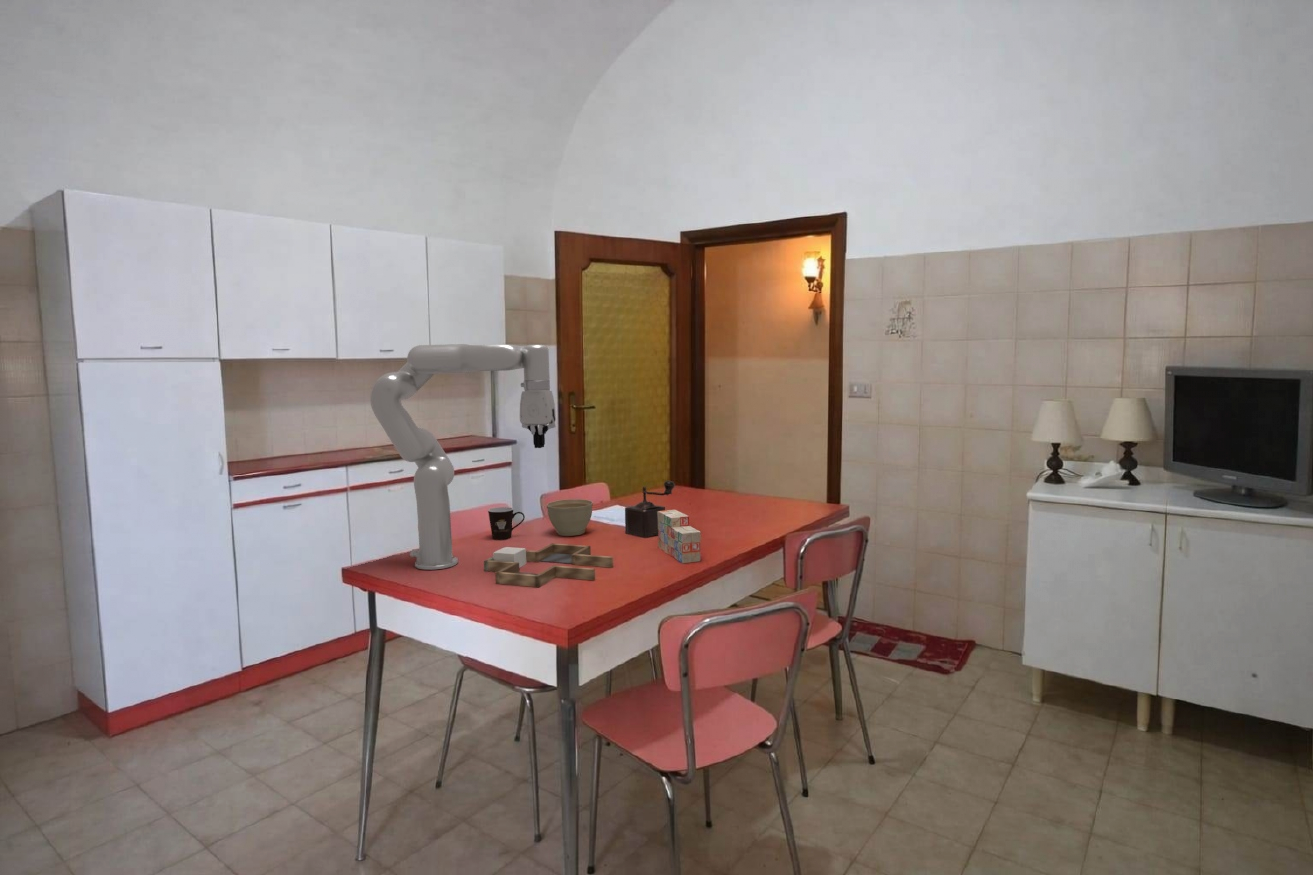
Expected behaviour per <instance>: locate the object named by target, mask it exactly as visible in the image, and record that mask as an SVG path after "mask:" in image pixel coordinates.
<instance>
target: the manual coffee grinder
mask: <svg viewBox="0 0 1313 875" xmlns="http://www.w3.org/2000/svg"><path fill="white" fill-rule="evenodd" d="M663 486H664V489H665V490H664V492H657V491H655V492H654V491H647V487H646V486H643V487H642V493H643V494H642V496H643V498H642V499H643V500H642V501H641V502H638V503H637V504H635V505H631V506H626V507H624V523H625V524H624V525H625V527H624V528H625V530H624V533H625V534H627V535H629V536H634V537H639V538H644V539H646V538H651V537H655V536H658V515H657V511H665V510H666V507H665V506H662V505H656V504H655V503H653V502H651V501H647V495H652V496H653V495H654V496H655V495H656V496H669V495H672V494H673V492H672V491H673V489H675V486H676V484H675V483H674V481H671V480H665V481H664V482H663Z"/></svg>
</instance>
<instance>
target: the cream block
mask: <svg viewBox="0 0 1313 875" xmlns="http://www.w3.org/2000/svg"><path fill="white" fill-rule="evenodd" d="M526 550H527V548H524V547H510V546H505V547H502V548H500V549H498V550H496V551H494V552H493V554H492V557H493V558H494V561H505V562H517V563H519V569H520V568H521V567H525V565H527V561H526Z"/></svg>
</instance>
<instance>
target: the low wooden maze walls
mask: <svg viewBox="0 0 1313 875" xmlns="http://www.w3.org/2000/svg"><path fill="white" fill-rule="evenodd" d="M526 562H534V563H535V562H537V563H540V562H541V563H552V564H565V565H551V566H549V567H548V568H546V569H544V570H543V571H541V572H539V573H534V572H532V573H531V572H521V571H520V568H519V563H517V562H505V561H494V558H493V556H492V557H489V558H487V559H485V560H484V561H483V569H484V570H483V571H484V572H490V573H491V572H492V573H494V574H495V575H494V576H495V584H498V585H508V586H521V587H531V588H532V587H533V588H540V587H542V586H543V585H545V584H547V583H548V582H550V581H551V580H554V579H555V578H559V579H560V578H561V579H574V580H575V579H576V580H585V581H586V580H587V581H595V580H596V568H589V567H600V568H611V569H612V568H613V567H614V556H606V555H595V554H594V555H593V554H592V551H591V545H583V544H582V545H580V544H578V545H577V544H565V543H550V544H548V545H546V546H544V547H542V548H541V549H538V550H527V549H526ZM567 564H568V565H572V566H566V565H567ZM577 566H580V567H577ZM581 566H584V567H581ZM585 566H586V567H585Z"/></svg>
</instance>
